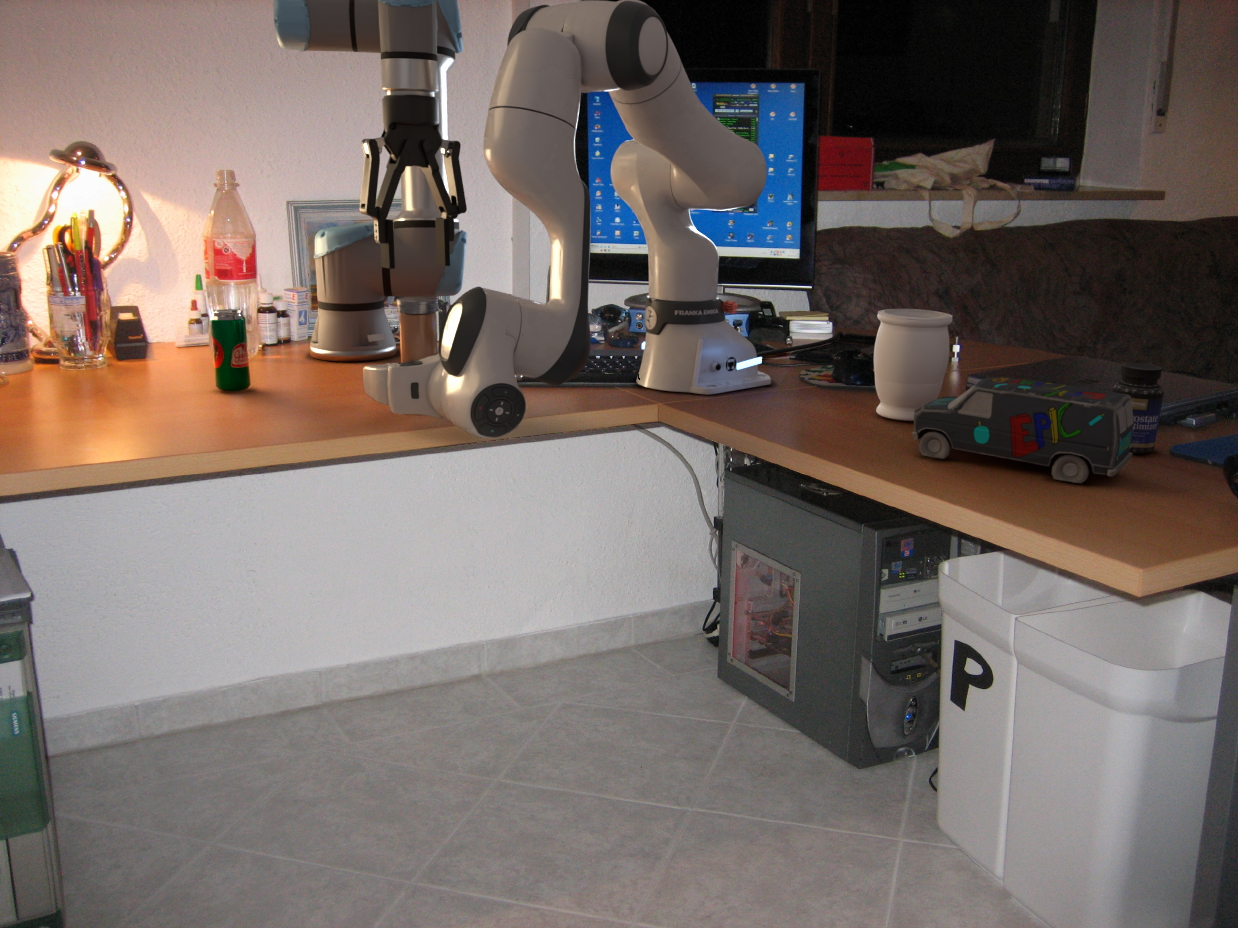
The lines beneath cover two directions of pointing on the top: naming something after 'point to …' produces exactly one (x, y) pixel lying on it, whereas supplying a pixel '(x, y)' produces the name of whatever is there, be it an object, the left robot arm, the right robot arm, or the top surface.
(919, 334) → the jar
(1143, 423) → the pill bottle
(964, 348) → the top surface
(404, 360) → the screw-top jar
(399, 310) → the lid
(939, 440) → the toy van
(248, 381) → the soda can
